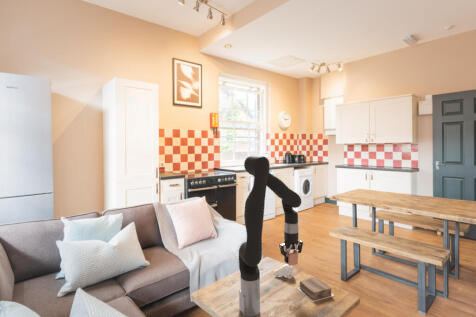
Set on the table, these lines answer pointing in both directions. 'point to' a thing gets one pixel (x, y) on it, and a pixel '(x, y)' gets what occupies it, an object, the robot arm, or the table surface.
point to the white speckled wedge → (284, 271)
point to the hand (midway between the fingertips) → (291, 261)
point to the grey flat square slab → (311, 298)
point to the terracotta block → (292, 258)
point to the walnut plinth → (315, 288)
